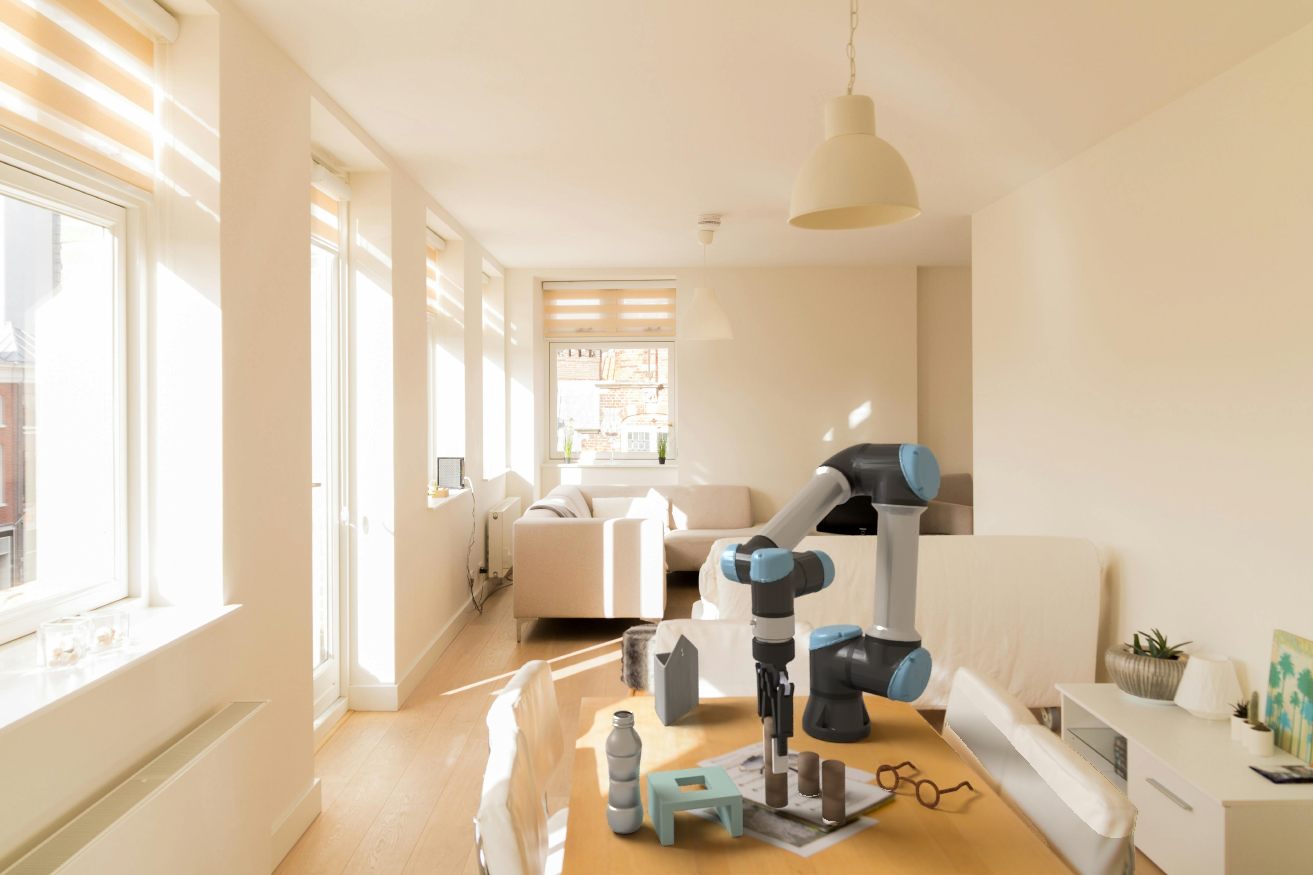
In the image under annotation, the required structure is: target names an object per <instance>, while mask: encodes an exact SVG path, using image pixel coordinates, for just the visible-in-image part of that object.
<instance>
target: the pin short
mask: <svg viewBox="0 0 1313 875" xmlns="http://www.w3.org/2000/svg"><path fill="white" fill-rule="evenodd" d="M820 772H821V771H820V755H819V754H818V753H817V752H814V751H809V750H806V751H801V752H798V754H797V792H798V791H799V793H801V794H802V795H806V796H813V795H818V794H819V793H820V792H821V791H820V788H821V787H820V784H821V783H820V782H821V780H820V779H821V778H820V777H821V776H820ZM799 793H798V794H799ZM819 795H820V794H819Z"/></svg>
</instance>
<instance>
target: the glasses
mask: <svg viewBox="0 0 1313 875" xmlns="http://www.w3.org/2000/svg"><path fill="white" fill-rule="evenodd" d="M905 766H908V767H910V768H911V769H912V770H913V769H915V768H916V766H915V765H914V764H913V763H912V762H910V761H909V760H907V761H903V762H901V763H899V764H898V765H893V766H892V765H889V764H881V765H879V766H878V768H877V769H876V773H875V778H876V782H877V785H878V787H879V788H880V789H881V788H883V789H886V790H891V791H892V792H895V791H896V790H897V789H898V786H899V781H900V780H901V781H902V782H903V781H904V782H907V783H909V784H912V785H913V786H914V787H915V798H916V799H917V801H918V803H919V804H920V805H921V806H923V807H925V808H926V809H927V808H928V809H932V808H935V807H937V806H938V805H939V803H940V800H941V799H940V798H941V795H944V794H949V793H954V792H958V791H959V789H961V788H962V787H964V786H966V787H967V788H968V790H969V791H972V790H974V788H973V786H972V785H971V783H970V782H969V781H968V780H965V781H962V782H959V783H958V785H956V786H954V787H950V788H945V789H939V786H937V784H936V783H935V782H934V781H932V780H931V779H926V778H924V779H920V780H918V781H917V782H916V781H915V780H914V779H911V778H908V777H905V776H900V774H899V773H898V772H897V770H900V769H901V768H903V767H905ZM888 771H889V772H892V773H893V774H894V779H895V780H894V784H893V786H892V787H891V788H889V787H886V786H884V785H883V783H882V782H881V777H880V775H881V773H883V772H888ZM924 783H925V784H929V785H930V786H932V787H933V789H934V792H935V800H934V802H933V803H931V804H930V803H926V802H924V800H923V799H922V798H921V796H920V787H921V785H922V784H924ZM883 789H882V790H883Z"/></svg>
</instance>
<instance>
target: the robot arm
mask: <svg viewBox="0 0 1313 875" xmlns="http://www.w3.org/2000/svg"><path fill="white" fill-rule="evenodd" d="M940 487H941V471H940V466H939V462H938V459H937V458H936V456H935V454H934V453H933V451H932V450H931V449H930V448H928V446H925V445H922V444H917V443H915V444H914V443H908V442H907V443H906V442H905V443H872V442H871V443H870V442H869V443H868V442H866V443H865V442H862V443H858V444H857V443H856V444H854V445H851V446H848V447H846V448H844V449H842V450H841V451H838V452H836V453H835V454H833V455H832V456H830V457H829V458H827V459H826V460H825V461H824V462H822V463H821V464H820V465H819V466H818V467H817V468H816V469H815V470H814V471H813V472H812V474H811V480H810V481H809V482H807V484H805V486H803V488H802V489H800V491H798V492H797V494H796V495H795V496H794V497H792V498H791V499H790V500H789V502H787V503H786V504H785V505H784V506H783V507H782V508H781V509H780V510H779V511H778V512H777V513H776V514H775V515H774V516H772V518H771V519H769V521H768V522H767V523H766V524H764V526H762V528H760V530H758V531H757V532H756V533H755V534H754V535H753V536H752V537H751V538H750V539H749V540H748V541H747V542H746V543H745V544H743V543H732V544H729V545H728V546H726V547H725V549H724V550H723V551H722V554H721V557H720V570H721V572H722V575H723V576H724V577H725V579H726V580H729V581H732V582H735V583H738V584H741V585H749V586H750V589H751V590H750V592H751V594H750V595H751V620H749V622H748V623H749V625H750V626H751V633H752V636H753V637H752V638H751V646H752V648H751V649H752V650H751V651H752V658H753V659H754V660H755V661H757V662H755V664H754V667H755V672H756V673H755V674H756V692H757V694H756V695H757V696H756V697H757V715H758V717H759V718H761V721H760V722H761V723H762V739H763V740H762V742H763V744H762V745H763V746H762V747H763V762H764V763H765V751H764V718H766V717H769V716H773V727H774V734H770V737H771V739H772V763H773V773H774V774H777V773H785V772H787V773H789V772H790V768H789V767H790V766H789V762H790V761H789V739H790V738H794V694H795V687H796V686H795V683H794V682H789V671H788V669H787V668H788V667H787V665H788V664H789V663H791V662H793V661H794V659H795V657H796V642H795V638H794V636H795V634H796V622H795V621H796V619H795V615H796V614H795V599H797V598H799V597H802V596H803V597H804V596H806V595H809V594H815V593H819V592H821V591H822V590H824V589H827V588H828V587H829V586H830V585H831V584H832V583H833V582H834V580H835V576H836V568H835V564H834V561H833V560H832V558H831V557H830V556H829V554H827V553H826V552H824V551H822V550H820V549H819V550H818V549H817V550H806V551H803V552H802V551H801V552H800V551H794V550H795V548H797V546H799V544H800V543H801V542H802V541H803V540H804V539H805V538H806V537H807V536H808V535H809V534H810V533H811V532H812V531H813V530H814V528H816V527H817V526H818V525H819V523H821V521H822V520H823V519H825V517H826V516H827V515H828V514H829V513H830V512H831V511H832V510H833V509H834V508H836V506H837V505H842V504H845V503H846V502H847V501H849V499H851V498H853V497H857V496H869V497H871V506H872V507H873V508H874V509H875V510H876V512H877V533H876V534H877V535H876V551H875V552H876V553H875V555H876V557H875V571H874V572H875V573H874V592H873V593H874V597H873V611H872V612H873V614H872V624H871V625H870V626H869V627H868V628H866V629H865V631H863V628H862V627H860V626H859V625H855V624H832V625H831V624H830V625H825V626H820V627H818V628H815V629H814V630H812V631H811V633H810V635H809V643H808V644H809V645H808V646H809V647H808V653H809V657H808V662H809V696H808V698H807V702H806V704H805V707H804V710H803V714H802V718H801V721H802V723H801V724H802V730H803V732H804V733H806V734H807V735H808V736H811V737H812V738H815V739H819V740H822V741H826V742H832V743H833V742H835V743H837V742H838V743H851V742H857V741H861V740H862V741H863V740H864V739H866V738H868V737H870V735H871V732H872V720H871V718H870V715H869V712H868V710H867V706H866V703H865V700H864V696H863V694H864V693H867V694H870V695H873V696H878V697H881V698H885V699H888V700H890V701H892V702H893V701H897V702H903V703H912V702H915V701H916V700H918V699H919V698H920V697H921V696H922V695H923V693H924V692H925V690H926V688H927V686H928V685H929V684H928V683H929V681H930V679H931V675H932V669H933V668H932V667H933V659H932V656H931V652H930V651H929V650H928V649H926V648H925V647H922V638H923V637H922V635H921V634H920V633H919V632H918V631H917V630H916V627H915V626H916V606H917V587H918V586H917V584H918V583H917V582H918V564H919V563H918V562H919V543H920V542H919V541H920V521H921V520H920V518H921V515H922V514H923V513H924V512H925V511H926V510H927V509H928V508H929V501H932V500H933V499H935V498H937V496H938V494H939V490H940ZM864 632H865V633H864ZM863 634H864V635H863Z"/></svg>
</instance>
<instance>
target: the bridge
mask: <svg viewBox="0 0 1313 875" xmlns="http://www.w3.org/2000/svg"><path fill="white" fill-rule="evenodd" d="M646 783H647V784H646V788H647V792H646V793H647V797H646V798H647V813H648V816H649V818H650V821H651V823H652V826H653V827H654V830H655V832H656V835H657V837H658V840H659V841H660V842H659V843H661V846H662V847H664V846H665V847H666V846H674V845H675V820H674V819H675V816H674V815H675V814H674V813H675V812H681V811H683V812H685V811H693V810H700V809H707V808H713V809H714V810H715V812H716V813H717V816H718V817H719V819H720V821H721V822H722V823H723V825H724V827H725V828H726V830H727V832H728V834H729V836H730V837H731V838H733V837H734V838H735V837H742V836H743V835H744V826H743V825H744V822H743V821H744V817H743V816H744V815H743V814H744V812H743V809H744V808H743V793H742V792H741V790H740V789H739V788H738V785H736V783H735V782H734V780H733V779H732V777H731V776H730V775H729V773H728V772H727V770H726V769H725V768H724V766H723V765H722V764H720V765H711V766H701V767H692V768H684V769H675V770H674V769H673V770H665V771H655V772H648V773H646ZM694 785H705V787H706V789H703V790H702V789H700V790H694V791H693V790H692V791H684V792H682V791H681V788H680V787H685V786H694Z"/></svg>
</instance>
